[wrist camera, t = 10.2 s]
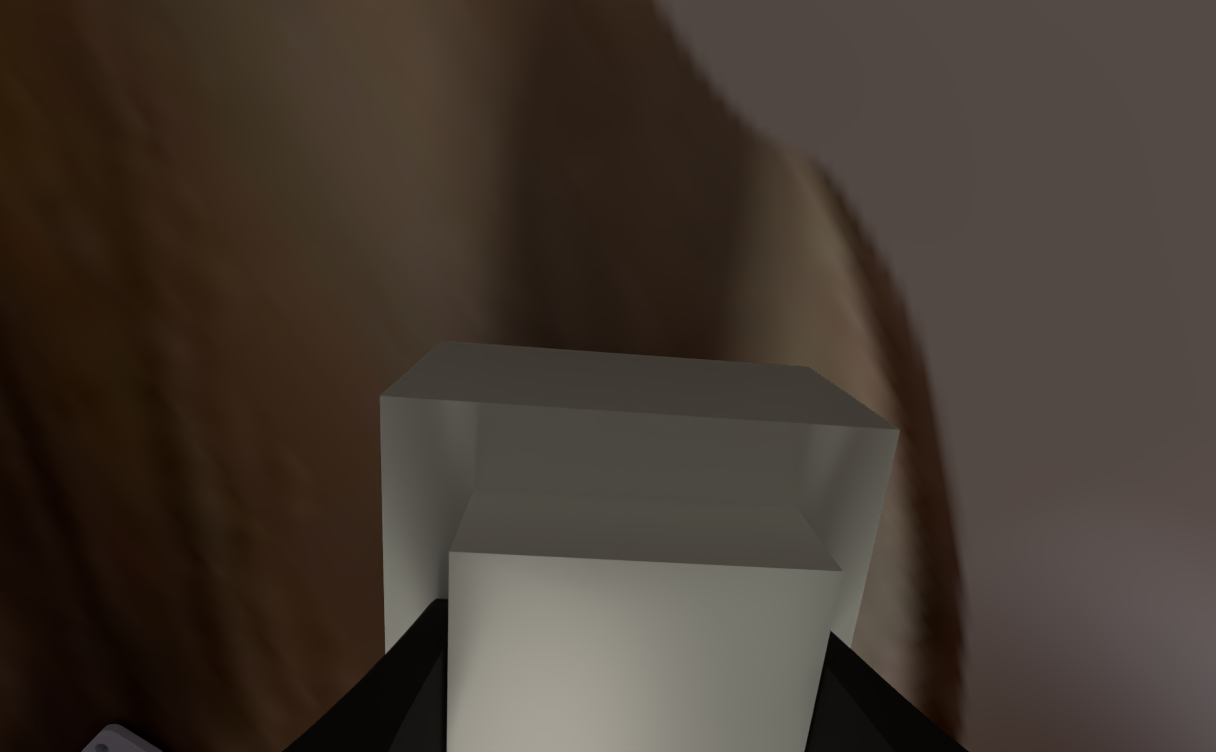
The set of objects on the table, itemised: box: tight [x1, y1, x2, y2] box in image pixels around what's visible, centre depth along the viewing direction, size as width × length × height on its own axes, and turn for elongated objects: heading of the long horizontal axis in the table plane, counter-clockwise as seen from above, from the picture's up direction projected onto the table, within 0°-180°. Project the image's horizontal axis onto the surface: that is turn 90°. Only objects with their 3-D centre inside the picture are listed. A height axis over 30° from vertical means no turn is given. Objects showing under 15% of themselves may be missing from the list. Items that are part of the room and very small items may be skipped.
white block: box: [380, 341, 900, 752], centre depth 12 cm, size 9×9×6 cm
